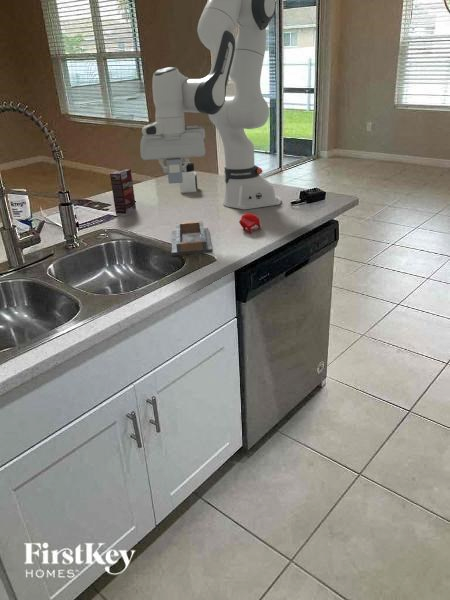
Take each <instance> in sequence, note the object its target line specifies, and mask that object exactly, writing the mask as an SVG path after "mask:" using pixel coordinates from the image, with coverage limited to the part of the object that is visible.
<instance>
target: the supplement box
mask: <svg viewBox="0 0 450 600" xmlns="http://www.w3.org/2000/svg"><path fill="white" fill-rule="evenodd" d="M109 177H110V184H111V190H112V198H113V203H114V210H115V211H114V212H115V216H119V217H121V216H122V217H124V216H126V217H127V216H128V215H130V214H131V213H133V212H134V211H137V205H136V199H135V192H134V191H135V190H134V185H133V184H134V183H133V176H132V169H129V168H128V169H127V168H120V169H118V170H116V171H114V172H112V173H109Z"/></svg>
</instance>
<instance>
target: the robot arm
mask: <svg viewBox="0 0 450 600" xmlns="http://www.w3.org/2000/svg"><path fill="white" fill-rule="evenodd" d="M276 1H277V0H207V2H206V3H205V6H204V7H203V10H202V13H201V15H200V18H199V20H198V24H197V30H196V31H197V35H198V38H199V41H200V43H202V45H204V47H205V48H206V49H208V50H209V51H211V52H213V53H214V54H213V55H214V56H213V59H212V63H211V68H210V72H209V74H207V75H206V76H205V77H202V78H201V77H200V78H189V77H188V76H185V75H183V74H182V73H181V72H180V71H179V69H178V68H177V67H175V66H174V67H173V66H169V67H164V68H159V69H157V70H155V71H154V73H153V75H152V82H151V83H152V86H151V87H152V90H151V91H152V98H153V100H152V101H153V104H154V108H155V115H154V117H155V121H154V122H151V123H149V124H147V125H144V126H143V127H142V128H141V133H142V136H141V139H140V144H139V145H140V149H139V150H140V158H141V159H142V160H143V161H151V160H158V164H159V165H160V166H161V168H162V170H163V174H168V171H167V166H165V164H164V160H165V159H166V160H167V159H170V158H181V159H182V158H184V163H185V164H184V166H182V172H186V166H187V164H188V162H190V158H196V157H197V158H198V157H199V158H200V157H204V156H205V155H206V146H205V141H204V140H205V139H206V130H205V128H204V127H203V126H200V124H195V125H186V121H185V120H186V119H185V113H196V114H204V115H205V114H206V115H207V116H208V119H209V121H210V122H211V123H212V124H213V126H215V128H216V129H217V131H218V133H219V135H220V136H219V137H220V138H221V141H222V145H223V150H224V151H223V153H224V163H225V164H224V165H225V166H224V170H223V171H224V172H223V173H224V174H223V176H224V182H225V190H224V191H225V193H224V199H223V206H226V207H227V208H232V209H233V208H234V209H240V210H251V209H256V208H257V209H258V208H259V209H260V208H263V207H272V206H278V205H280V204H281V203H282V198H281V197H280V196H279V195H277V194H276V192H275V187H274V186H273V184H272V183H271V182H270V181H268V179H266V178H264V177H263V176H261V175H262V173H263V169H262V167H259V166H257V165H255V146H254V143H253V142H252V140H251V139H250V138H248V136H247V134H246V131H245V130H253V129H259V128H261V127H264V126H265V125H266V124H267V122H268V119H269V118H270V117H269V116H270V107H269V103H268V102H267V101H266V99H265V98H264V97H263V94H262V89H261V76H262V70H263V63H264V58H265V53H266V44H267V27H268V26H269V24H270V22H271V21H272V19H273V17H274V15H275V12H276V7H277V6H276V5H277V4H276V3H277V2H276ZM236 26H238V33H237V35H236V38H235V36H234V31H235V29H236ZM229 78H230V79H231V81H232V82H233V83H235V88H236V89H235V90H236V91H235V95H227V94H226V93H227V86H228V81H229Z"/></svg>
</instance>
